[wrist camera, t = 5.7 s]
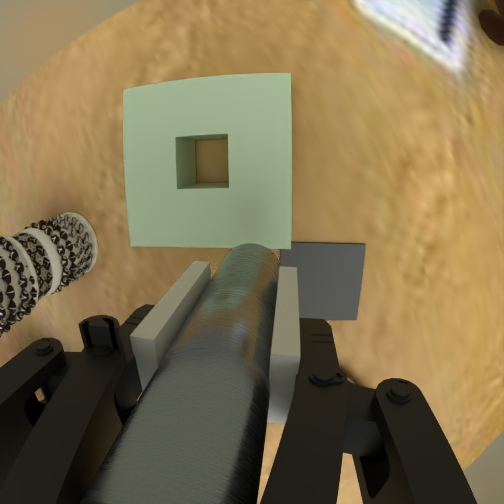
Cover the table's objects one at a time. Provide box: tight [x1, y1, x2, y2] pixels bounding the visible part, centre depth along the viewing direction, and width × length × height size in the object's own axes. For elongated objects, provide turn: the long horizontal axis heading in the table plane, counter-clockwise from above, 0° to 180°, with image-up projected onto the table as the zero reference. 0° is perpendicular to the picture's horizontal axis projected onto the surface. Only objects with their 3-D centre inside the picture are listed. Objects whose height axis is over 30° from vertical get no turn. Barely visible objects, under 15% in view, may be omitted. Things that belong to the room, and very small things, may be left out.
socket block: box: [123, 73, 292, 249], centre depth 28 cm, size 15×15×6 cm
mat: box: [280, 242, 365, 320], centre depth 33 cm, size 9×9×1 cm
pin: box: [80, 243, 280, 504], centre depth 10 cm, size 3×3×14 cm
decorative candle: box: [0, 212, 98, 337], centre depth 24 cm, size 9×9×25 cm
